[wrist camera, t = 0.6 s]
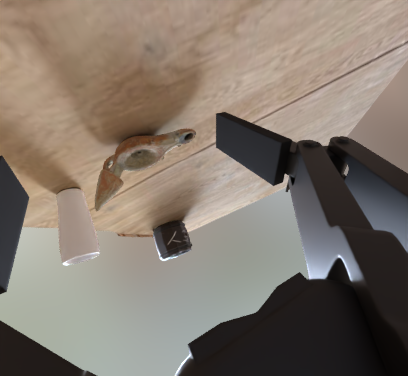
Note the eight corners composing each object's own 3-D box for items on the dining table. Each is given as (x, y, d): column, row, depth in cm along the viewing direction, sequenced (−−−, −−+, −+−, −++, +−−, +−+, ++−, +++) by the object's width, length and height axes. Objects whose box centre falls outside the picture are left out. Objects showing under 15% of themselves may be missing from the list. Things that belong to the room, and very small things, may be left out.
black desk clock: (189, 220, 118) (199, 247, 113) (163, 232, 122) (171, 259, 117) (174, 218, 101) (185, 249, 96) (144, 232, 105) (153, 263, 100)
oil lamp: (70, 152, 35) (80, 205, 32) (187, 106, 36) (208, 154, 33) (99, 171, 44) (109, 215, 40) (194, 134, 44) (212, 174, 41)
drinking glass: (86, 183, 46) (100, 249, 41) (88, 196, 51) (100, 256, 46) (48, 188, 42) (59, 261, 37) (55, 202, 48) (64, 267, 43)
